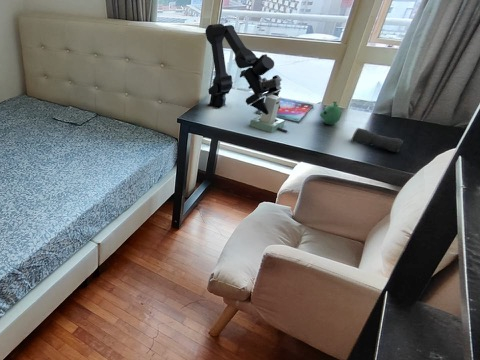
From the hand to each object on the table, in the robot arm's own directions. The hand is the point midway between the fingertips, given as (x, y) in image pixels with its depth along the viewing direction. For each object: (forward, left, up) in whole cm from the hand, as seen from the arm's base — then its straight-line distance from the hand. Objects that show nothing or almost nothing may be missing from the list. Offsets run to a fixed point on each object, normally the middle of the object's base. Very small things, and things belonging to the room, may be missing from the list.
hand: (273, 111), depth 159 cm
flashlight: (+37, +9, -8) cm, 38 cm away
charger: (-2, 0, -6) cm, 7 cm away
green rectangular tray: (+1, 0, -7) cm, 7 cm away
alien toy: (+17, +20, -8) cm, 27 cm away
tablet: (-3, +24, -7) cm, 25 cm away
